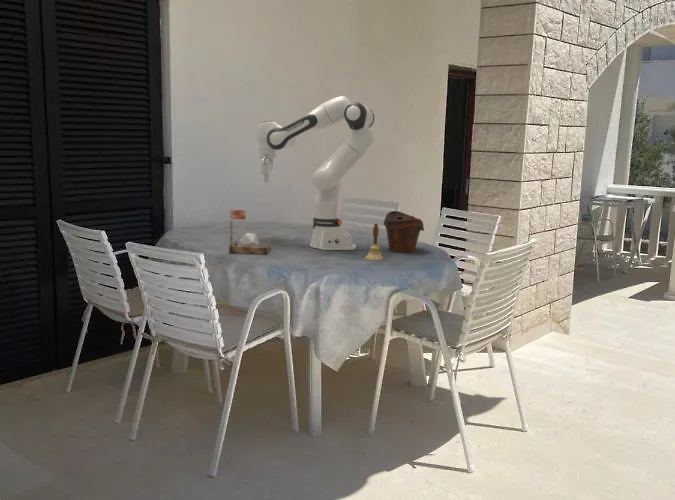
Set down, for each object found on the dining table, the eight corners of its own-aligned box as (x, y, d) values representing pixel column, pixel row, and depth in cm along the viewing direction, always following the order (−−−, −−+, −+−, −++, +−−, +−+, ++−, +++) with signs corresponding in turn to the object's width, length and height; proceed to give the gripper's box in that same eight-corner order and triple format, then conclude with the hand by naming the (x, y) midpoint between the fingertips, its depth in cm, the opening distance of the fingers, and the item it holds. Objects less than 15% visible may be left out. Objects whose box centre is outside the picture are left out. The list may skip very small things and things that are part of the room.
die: (262, 251, 312) (258, 233, 316) (256, 245, 304) (252, 226, 308) (246, 257, 313) (242, 238, 317) (239, 251, 305) (235, 232, 309)
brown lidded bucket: (418, 255, 314) (420, 217, 311) (377, 250, 321) (379, 213, 318) (426, 249, 331) (429, 212, 328) (387, 245, 338) (389, 209, 334)
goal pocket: (270, 248, 318) (271, 206, 314) (266, 254, 303) (267, 210, 299) (234, 246, 318) (234, 204, 314) (229, 253, 302) (229, 209, 299)
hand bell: (386, 260, 300) (388, 225, 297) (369, 260, 297) (371, 225, 294) (379, 256, 308) (380, 222, 305) (362, 257, 305) (363, 222, 302)
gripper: (271, 155, 320) (270, 184, 323) (275, 153, 340) (274, 181, 343) (258, 155, 320) (257, 184, 323) (262, 153, 340) (262, 180, 343)
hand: (266, 182), depth 333 cm, fingers closed
